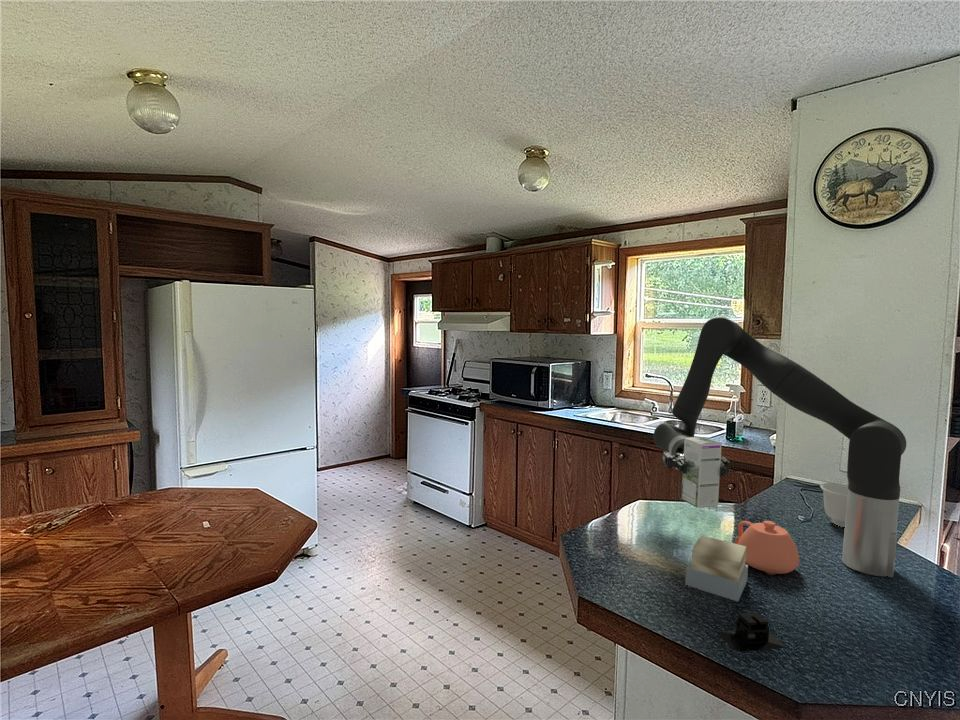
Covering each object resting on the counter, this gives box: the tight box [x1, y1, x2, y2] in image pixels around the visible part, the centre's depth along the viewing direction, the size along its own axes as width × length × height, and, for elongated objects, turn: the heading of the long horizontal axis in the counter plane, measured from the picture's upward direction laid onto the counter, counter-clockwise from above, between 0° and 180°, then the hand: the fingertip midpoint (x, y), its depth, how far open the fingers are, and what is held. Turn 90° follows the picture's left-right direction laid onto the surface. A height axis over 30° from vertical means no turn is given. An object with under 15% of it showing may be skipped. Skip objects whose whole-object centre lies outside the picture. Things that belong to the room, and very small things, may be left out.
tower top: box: [690, 535, 747, 582], centre depth 107 cm, size 9×9×4 cm
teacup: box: [819, 482, 848, 528], centre depth 142 cm, size 12×15×10 cm
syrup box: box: [680, 436, 723, 509], centre depth 114 cm, size 6×6×14 cm
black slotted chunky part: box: [716, 611, 787, 653], centre depth 88 cm, size 12×7×5 cm, turn 98°
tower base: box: [684, 561, 749, 602], centre depth 107 cm, size 10×10×4 cm
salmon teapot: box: [734, 520, 800, 576], centre depth 116 cm, size 12×14×10 cm
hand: (703, 470), depth 112 cm, fingers closed on syrup box, 7 cm apart
